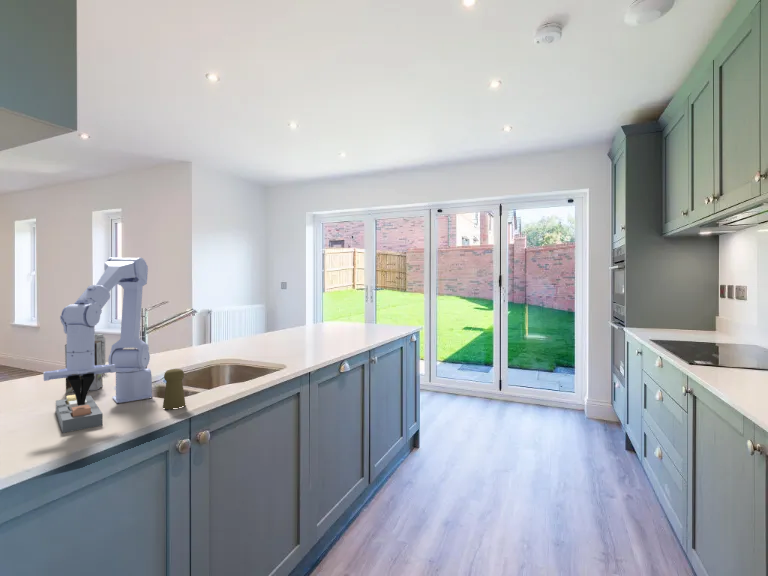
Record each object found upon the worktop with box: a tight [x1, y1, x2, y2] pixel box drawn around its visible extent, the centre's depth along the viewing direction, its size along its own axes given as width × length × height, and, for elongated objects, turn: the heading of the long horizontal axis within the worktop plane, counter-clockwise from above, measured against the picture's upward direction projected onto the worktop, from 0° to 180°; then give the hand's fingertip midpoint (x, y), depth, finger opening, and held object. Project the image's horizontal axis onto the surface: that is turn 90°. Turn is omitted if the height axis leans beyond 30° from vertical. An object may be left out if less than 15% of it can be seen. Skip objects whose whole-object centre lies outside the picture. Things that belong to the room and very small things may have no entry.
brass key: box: [65, 394, 77, 404], centre depth 113 cm, size 4×4×3 cm
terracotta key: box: [71, 405, 91, 417], centre depth 103 cm, size 4×4×3 cm
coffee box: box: [64, 340, 104, 393], centre depth 137 cm, size 9×6×16 cm
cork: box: [162, 368, 186, 409], centre depth 118 cm, size 6×6×11 cm
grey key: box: [69, 400, 87, 410], centre depth 108 cm, size 4×4×3 cm
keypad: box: [55, 394, 104, 434], centre depth 108 cm, size 8×22×3 cm, turn 43°
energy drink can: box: [95, 333, 106, 365], centre depth 164 cm, size 6×6×15 cm
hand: (80, 404), depth 103 cm, fingers closed
